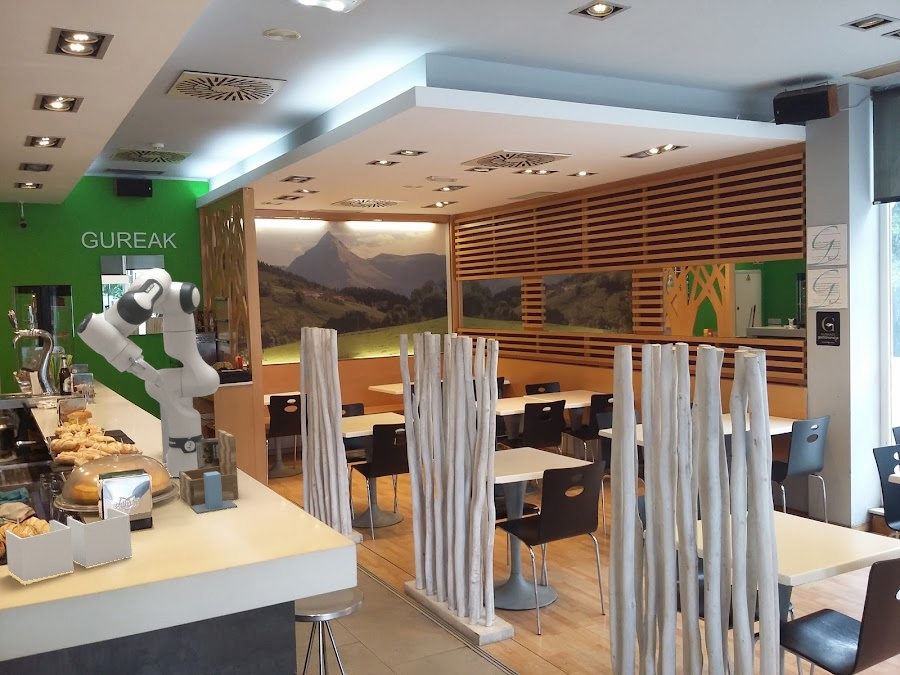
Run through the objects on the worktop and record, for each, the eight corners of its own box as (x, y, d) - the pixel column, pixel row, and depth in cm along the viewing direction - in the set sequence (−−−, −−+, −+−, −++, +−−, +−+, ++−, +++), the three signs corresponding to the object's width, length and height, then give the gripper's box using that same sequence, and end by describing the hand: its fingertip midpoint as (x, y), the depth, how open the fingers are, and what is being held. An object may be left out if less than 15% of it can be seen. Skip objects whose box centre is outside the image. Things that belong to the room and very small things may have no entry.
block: (205, 505, 248) (203, 473, 248) (218, 503, 250) (216, 471, 250) (209, 508, 244) (207, 476, 244) (222, 506, 246) (220, 474, 246)
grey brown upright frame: (231, 484, 277) (228, 437, 276) (224, 488, 271) (221, 441, 270) (205, 484, 278) (202, 438, 277) (197, 489, 272) (195, 441, 271)
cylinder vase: (169, 462, 319) (165, 399, 318) (159, 457, 329) (155, 396, 328) (200, 457, 326) (196, 395, 325) (189, 453, 336) (186, 393, 335)
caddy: (180, 496, 263) (176, 435, 262) (225, 489, 270) (221, 429, 269) (191, 506, 249) (187, 442, 248) (238, 498, 256) (234, 436, 255)
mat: (190, 507, 248) (190, 506, 248) (229, 501, 254) (229, 499, 254) (197, 513, 240) (197, 512, 240) (237, 507, 246) (237, 505, 246)
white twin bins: (24, 586, 184) (20, 539, 184) (8, 576, 192) (5, 530, 191) (132, 558, 202) (129, 514, 201) (113, 549, 210) (111, 507, 209)
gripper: (140, 350, 232) (178, 381, 237) (129, 348, 249) (164, 376, 255) (125, 367, 230) (163, 398, 235) (115, 363, 247) (150, 392, 253)
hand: (163, 387), depth 245 cm, fingers open, 8 cm apart
